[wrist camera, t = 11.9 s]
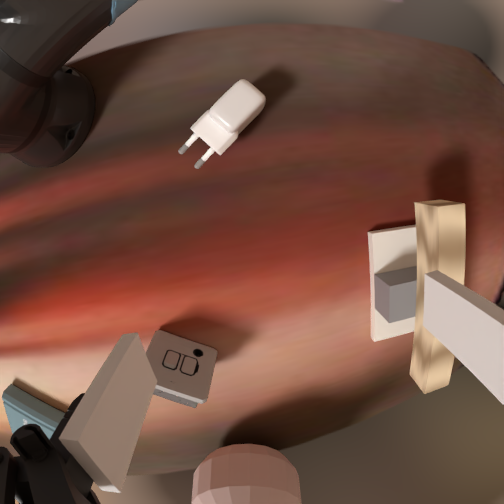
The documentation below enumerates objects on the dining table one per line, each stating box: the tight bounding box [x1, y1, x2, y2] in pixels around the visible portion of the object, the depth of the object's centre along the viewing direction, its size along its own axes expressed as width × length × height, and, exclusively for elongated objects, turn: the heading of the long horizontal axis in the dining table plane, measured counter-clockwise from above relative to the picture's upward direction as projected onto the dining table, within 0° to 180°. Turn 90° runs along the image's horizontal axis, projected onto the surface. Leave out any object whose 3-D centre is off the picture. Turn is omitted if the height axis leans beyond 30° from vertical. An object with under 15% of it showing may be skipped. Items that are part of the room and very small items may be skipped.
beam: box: [410, 200, 466, 394], centre depth 32 cm, size 24×4×5 cm, turn 9°
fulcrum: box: [368, 225, 417, 342], centre depth 38 cm, size 16×12×6 cm
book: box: [2, 384, 65, 440], centre depth 45 cm, size 23×16×5 cm
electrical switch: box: [146, 330, 218, 408], centre depth 39 cm, size 9×5×9 cm, turn 70°
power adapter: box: [179, 79, 266, 169], centre depth 33 cm, size 11×5×6 cm, turn 137°
